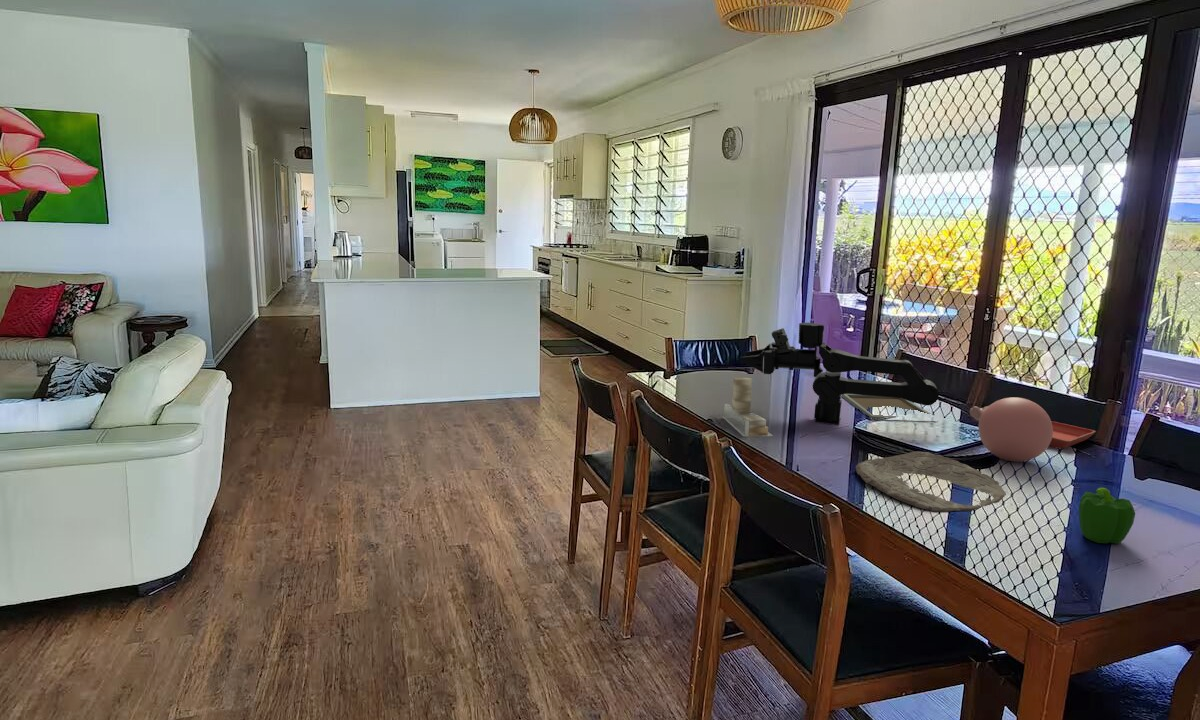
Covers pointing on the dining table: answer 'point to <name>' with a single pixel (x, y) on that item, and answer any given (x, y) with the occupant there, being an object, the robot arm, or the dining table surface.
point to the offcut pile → (756, 424)
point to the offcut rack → (739, 421)
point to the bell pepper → (1105, 517)
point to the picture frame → (879, 403)
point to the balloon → (1014, 428)
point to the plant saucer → (1068, 435)
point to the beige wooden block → (742, 394)
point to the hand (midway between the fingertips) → (742, 356)
